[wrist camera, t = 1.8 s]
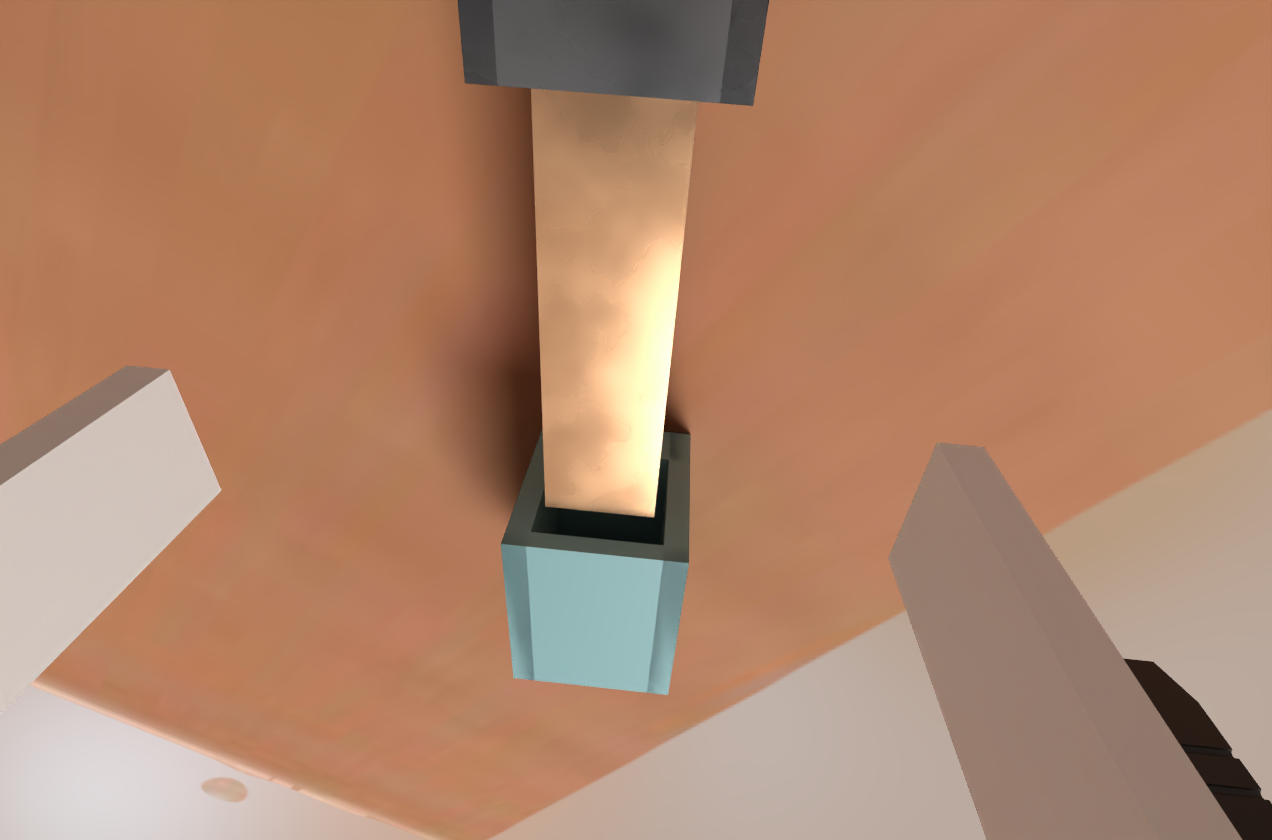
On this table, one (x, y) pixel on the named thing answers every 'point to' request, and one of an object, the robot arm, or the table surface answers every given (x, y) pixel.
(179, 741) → the table surface
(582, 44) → the sleeve
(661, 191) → the tall peach post
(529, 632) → the socket
